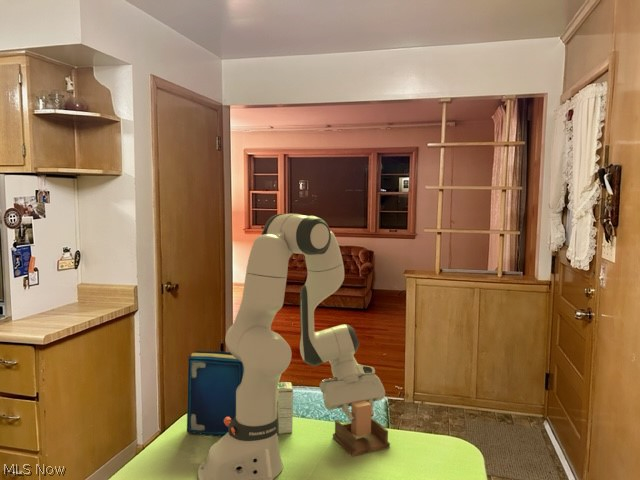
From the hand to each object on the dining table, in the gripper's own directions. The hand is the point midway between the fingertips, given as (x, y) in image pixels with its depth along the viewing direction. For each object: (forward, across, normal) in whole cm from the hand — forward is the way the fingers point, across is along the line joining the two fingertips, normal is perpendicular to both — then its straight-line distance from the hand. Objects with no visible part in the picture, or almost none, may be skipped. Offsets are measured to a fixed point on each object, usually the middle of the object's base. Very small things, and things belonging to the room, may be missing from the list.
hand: (362, 418), depth 136 cm
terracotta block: (+3, 0, +4) cm, 5 cm away
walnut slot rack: (+5, 0, +6) cm, 8 cm away
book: (-11, -37, +22) cm, 45 cm away
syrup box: (-7, -19, +18) cm, 27 cm away
